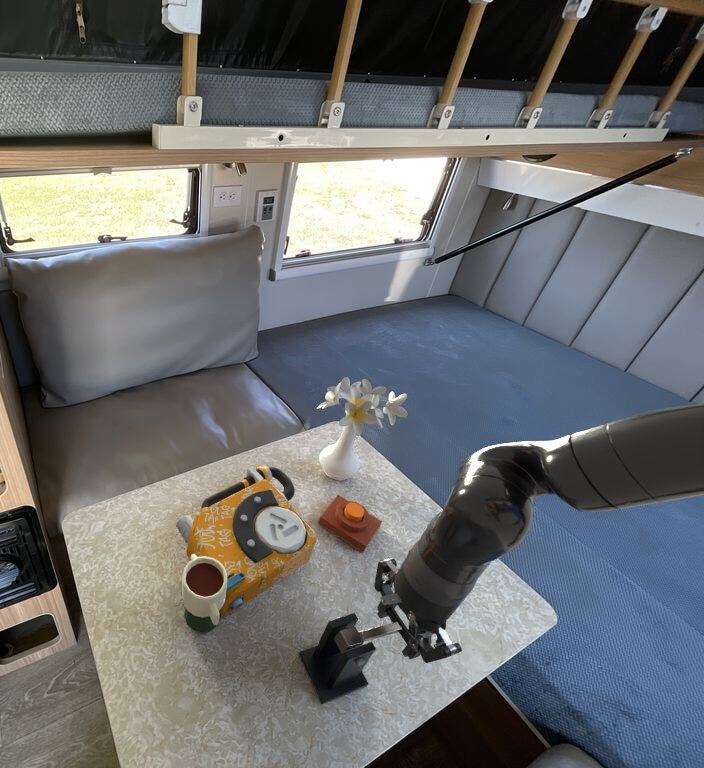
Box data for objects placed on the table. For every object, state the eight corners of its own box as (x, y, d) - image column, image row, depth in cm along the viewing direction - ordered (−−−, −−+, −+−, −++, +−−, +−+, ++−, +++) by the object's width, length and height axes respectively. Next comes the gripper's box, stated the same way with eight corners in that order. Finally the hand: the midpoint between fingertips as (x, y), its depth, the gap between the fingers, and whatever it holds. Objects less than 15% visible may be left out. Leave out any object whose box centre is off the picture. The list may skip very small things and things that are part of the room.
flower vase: (387, 481, 95) (424, 398, 81) (318, 498, 91) (345, 414, 76) (354, 444, 106) (382, 364, 91) (291, 457, 101) (310, 376, 86)
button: (364, 514, 84) (367, 509, 83) (357, 525, 81) (359, 520, 80) (348, 504, 86) (350, 499, 85) (340, 515, 83) (342, 509, 82)
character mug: (233, 640, 67) (240, 602, 60) (193, 656, 65) (195, 619, 58) (209, 580, 76) (212, 540, 68) (173, 592, 74) (172, 553, 66)
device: (157, 503, 79) (274, 449, 92) (158, 528, 84) (269, 473, 97) (221, 606, 64) (352, 523, 76) (218, 629, 69) (341, 548, 81)
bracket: (340, 639, 68) (360, 602, 60) (366, 686, 62) (392, 652, 55) (298, 654, 66) (313, 618, 58) (321, 704, 60) (341, 672, 53)
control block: (379, 527, 85) (384, 515, 83) (363, 552, 81) (368, 541, 78) (335, 500, 91) (339, 489, 88) (318, 522, 86) (322, 511, 84)
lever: (389, 612, 64) (396, 604, 63) (411, 646, 60) (419, 638, 59) (327, 628, 60) (334, 620, 58) (347, 665, 56) (355, 657, 55)
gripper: (505, 623, 48) (450, 676, 58) (418, 523, 59) (384, 583, 69) (456, 643, 46) (407, 695, 56) (375, 536, 57) (347, 595, 67)
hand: (395, 633), depth 63 cm, fingers closed on lever, 5 cm apart
